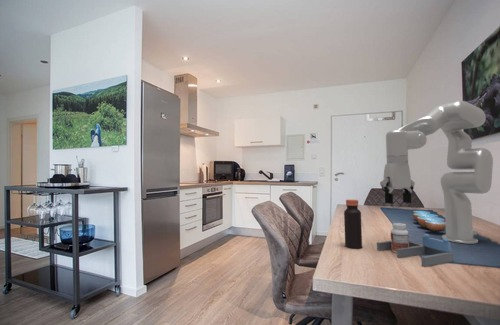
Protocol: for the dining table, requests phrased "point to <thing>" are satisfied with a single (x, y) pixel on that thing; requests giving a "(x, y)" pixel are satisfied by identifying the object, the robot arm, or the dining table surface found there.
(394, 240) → the pill bottle
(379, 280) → the dining table surface
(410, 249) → the grey blue bar frame
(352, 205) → the vinegar
